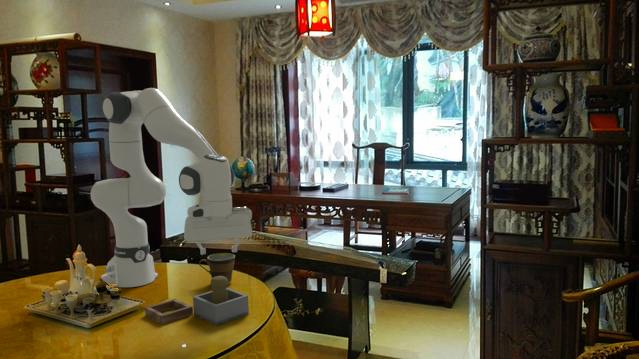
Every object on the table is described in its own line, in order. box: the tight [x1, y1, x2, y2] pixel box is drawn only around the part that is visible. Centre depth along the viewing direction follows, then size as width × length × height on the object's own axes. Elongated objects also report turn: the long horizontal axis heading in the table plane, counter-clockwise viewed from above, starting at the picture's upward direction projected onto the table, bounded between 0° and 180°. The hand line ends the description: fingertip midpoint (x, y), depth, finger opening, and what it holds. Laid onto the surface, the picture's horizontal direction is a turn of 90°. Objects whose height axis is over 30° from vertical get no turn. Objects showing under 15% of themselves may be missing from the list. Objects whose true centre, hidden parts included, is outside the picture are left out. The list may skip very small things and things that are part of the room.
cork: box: [210, 276, 229, 304], centre depth 159 cm, size 6×6×11 cm
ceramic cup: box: [198, 252, 236, 285], centre depth 189 cm, size 13×10×10 cm
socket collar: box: [144, 298, 194, 325], centre depth 160 cm, size 10×10×2 cm
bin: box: [192, 286, 250, 327], centre depth 160 cm, size 12×12×6 cm
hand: (219, 253), depth 158 cm, fingers open, 8 cm apart
